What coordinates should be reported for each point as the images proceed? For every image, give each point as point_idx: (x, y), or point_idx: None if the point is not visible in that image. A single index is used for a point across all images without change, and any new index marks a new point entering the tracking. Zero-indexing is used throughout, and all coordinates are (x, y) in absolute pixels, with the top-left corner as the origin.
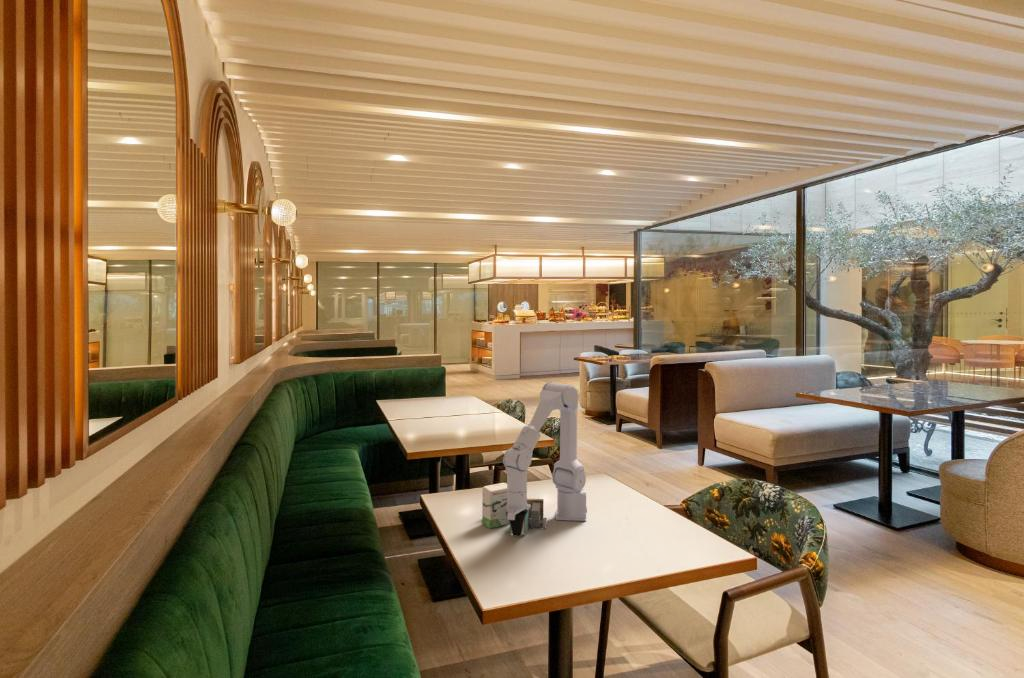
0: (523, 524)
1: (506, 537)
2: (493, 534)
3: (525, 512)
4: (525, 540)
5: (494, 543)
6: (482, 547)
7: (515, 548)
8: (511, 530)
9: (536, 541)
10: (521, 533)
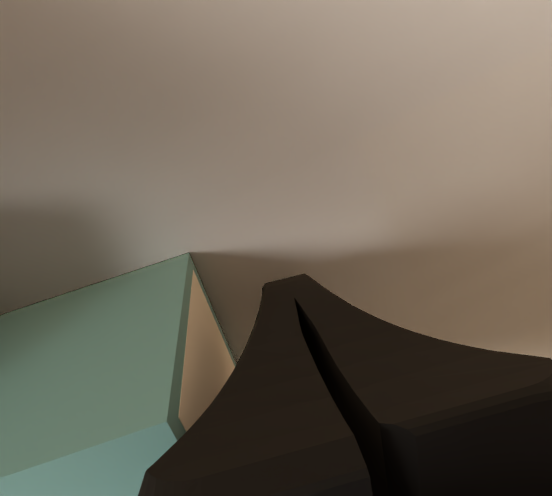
0: (189, 341)
1: None
2: None
3: (362, 477)
4: (291, 199)
5: None
6: None
7: (495, 200)
8: None
9: (262, 72)
10: (202, 298)
